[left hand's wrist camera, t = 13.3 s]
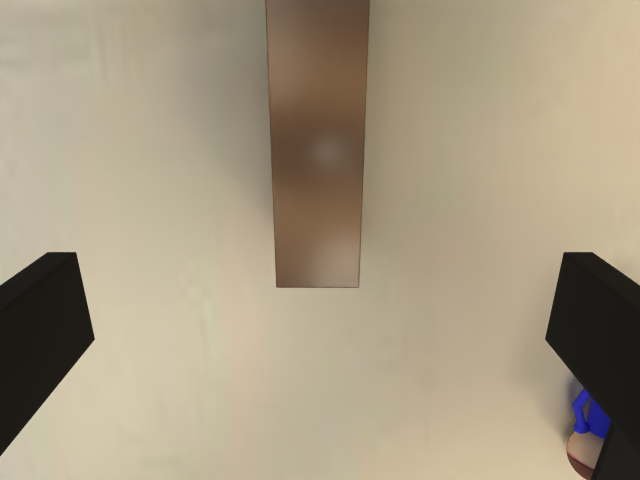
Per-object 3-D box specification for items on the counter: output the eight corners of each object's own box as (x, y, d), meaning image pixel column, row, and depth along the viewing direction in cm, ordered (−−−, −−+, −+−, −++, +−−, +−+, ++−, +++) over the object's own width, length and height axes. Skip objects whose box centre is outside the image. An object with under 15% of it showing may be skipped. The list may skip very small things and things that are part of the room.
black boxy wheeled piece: (574, 314, 40) (543, 456, 44) (632, 358, 33) (588, 523, 37) (648, 318, 40) (610, 459, 44) (722, 362, 33) (668, 526, 37)
